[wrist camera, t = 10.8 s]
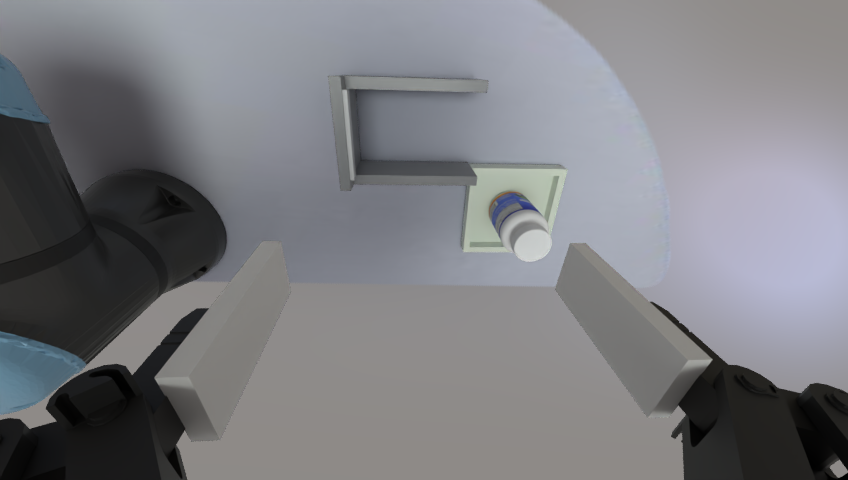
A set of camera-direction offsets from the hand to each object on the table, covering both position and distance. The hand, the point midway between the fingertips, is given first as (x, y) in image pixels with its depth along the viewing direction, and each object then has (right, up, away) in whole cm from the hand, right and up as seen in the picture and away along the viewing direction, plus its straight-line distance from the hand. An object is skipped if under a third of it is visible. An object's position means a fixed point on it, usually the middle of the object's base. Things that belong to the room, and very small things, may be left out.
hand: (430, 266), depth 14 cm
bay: (-2, +14, +21) cm, 25 cm away
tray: (+11, +6, +26) cm, 29 cm away
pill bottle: (+11, +5, +26) cm, 29 cm away
